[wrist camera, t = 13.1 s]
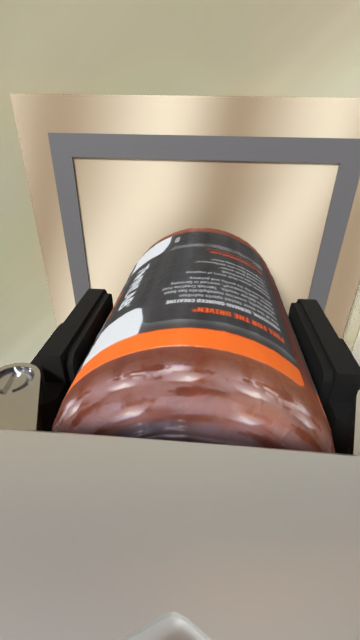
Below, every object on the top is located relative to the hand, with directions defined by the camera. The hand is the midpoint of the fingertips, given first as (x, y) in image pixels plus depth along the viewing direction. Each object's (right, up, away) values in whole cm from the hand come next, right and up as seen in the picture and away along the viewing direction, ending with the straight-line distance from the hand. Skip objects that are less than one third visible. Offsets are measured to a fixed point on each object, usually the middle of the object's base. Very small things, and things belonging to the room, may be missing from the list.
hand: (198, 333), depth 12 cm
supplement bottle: (0, +2, +3) cm, 3 cm away
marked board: (0, +2, +4) cm, 5 cm away
